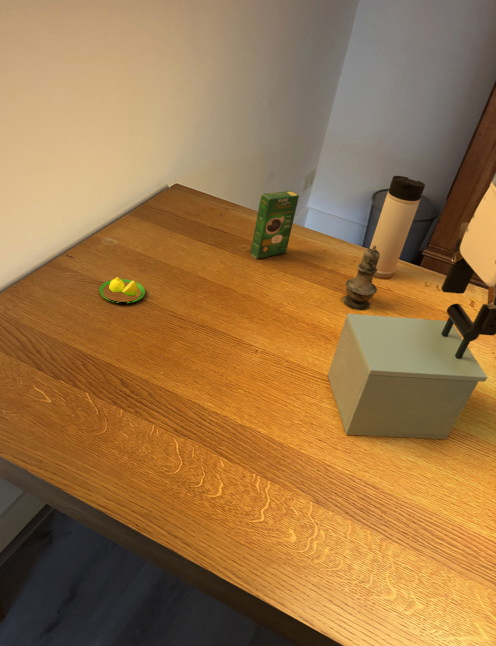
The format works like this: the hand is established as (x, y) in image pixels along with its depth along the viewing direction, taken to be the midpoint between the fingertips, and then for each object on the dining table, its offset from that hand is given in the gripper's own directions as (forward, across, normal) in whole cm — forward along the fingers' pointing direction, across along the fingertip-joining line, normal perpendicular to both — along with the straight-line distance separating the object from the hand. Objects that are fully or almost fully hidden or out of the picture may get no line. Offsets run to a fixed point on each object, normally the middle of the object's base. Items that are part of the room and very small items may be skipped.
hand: (466, 311), depth 71 cm
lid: (+7, 0, +5) cm, 8 cm away
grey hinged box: (+18, 0, +5) cm, 18 cm away
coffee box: (+18, +46, +17) cm, 52 cm away
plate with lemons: (+18, +26, +46) cm, 56 cm away
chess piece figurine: (+18, +29, +2) cm, 34 cm away
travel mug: (+17, +42, -6) cm, 46 cm away
